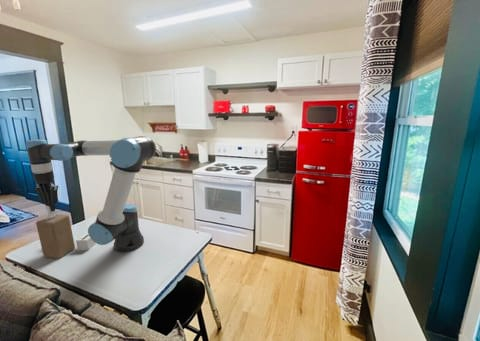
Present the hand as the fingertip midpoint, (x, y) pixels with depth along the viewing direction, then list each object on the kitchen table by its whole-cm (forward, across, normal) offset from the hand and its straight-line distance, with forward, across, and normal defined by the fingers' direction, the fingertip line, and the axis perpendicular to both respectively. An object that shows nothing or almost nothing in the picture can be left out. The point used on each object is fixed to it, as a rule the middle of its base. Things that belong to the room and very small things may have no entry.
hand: (52, 216), depth 117 cm
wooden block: (+21, 0, 0) cm, 21 cm away
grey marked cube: (+21, -9, -8) cm, 24 cm away
